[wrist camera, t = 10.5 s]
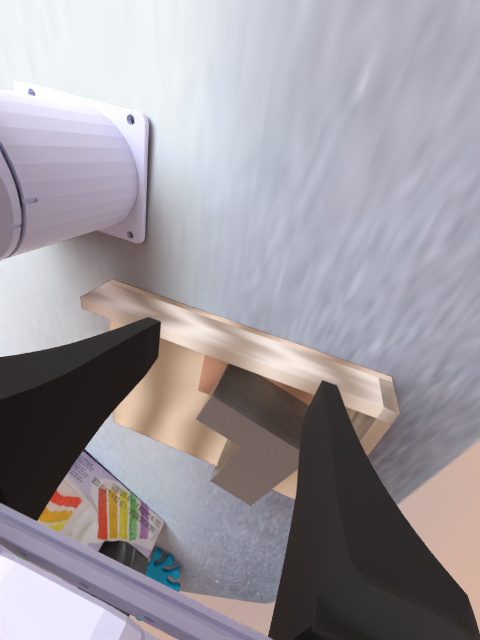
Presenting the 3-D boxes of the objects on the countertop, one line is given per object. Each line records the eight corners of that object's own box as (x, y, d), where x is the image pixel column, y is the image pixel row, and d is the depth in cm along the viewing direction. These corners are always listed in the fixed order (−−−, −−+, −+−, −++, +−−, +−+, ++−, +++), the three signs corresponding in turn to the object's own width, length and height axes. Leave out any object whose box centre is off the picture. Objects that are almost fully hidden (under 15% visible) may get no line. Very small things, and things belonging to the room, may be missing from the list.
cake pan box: (173, 526, 43) (86, 718, 28) (152, 529, 46) (64, 706, 31) (79, 439, 39) (-81, 613, 24) (62, 447, 41) (-91, 609, 27)
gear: (193, 583, 47) (146, 639, 45) (193, 559, 53) (151, 608, 51) (145, 534, 47) (96, 588, 45) (151, 516, 53) (107, 563, 51)
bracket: (262, 459, 28) (250, 505, 25) (192, 416, 28) (170, 456, 25) (316, 409, 23) (312, 458, 20) (232, 357, 23) (211, 396, 20)
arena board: (116, 418, 34) (94, 443, 31) (112, 279, 24) (80, 296, 21) (308, 499, 31) (304, 536, 28) (391, 377, 21) (400, 413, 18)
